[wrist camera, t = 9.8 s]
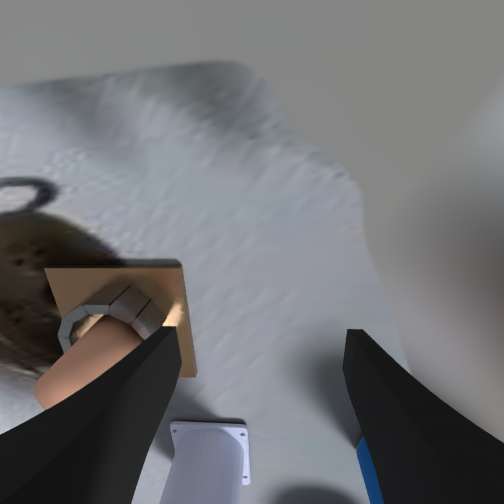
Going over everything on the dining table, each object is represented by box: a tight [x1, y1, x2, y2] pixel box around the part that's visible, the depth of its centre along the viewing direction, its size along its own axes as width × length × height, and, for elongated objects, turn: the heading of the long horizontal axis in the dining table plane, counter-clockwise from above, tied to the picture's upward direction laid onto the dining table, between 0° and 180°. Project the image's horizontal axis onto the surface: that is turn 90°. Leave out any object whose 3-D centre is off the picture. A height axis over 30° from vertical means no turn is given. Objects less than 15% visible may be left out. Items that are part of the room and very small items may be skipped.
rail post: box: [34, 315, 144, 410], centre depth 19 cm, size 4×4×7 cm
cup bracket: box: [44, 265, 197, 377], centre depth 21 cm, size 11×11×3 cm
